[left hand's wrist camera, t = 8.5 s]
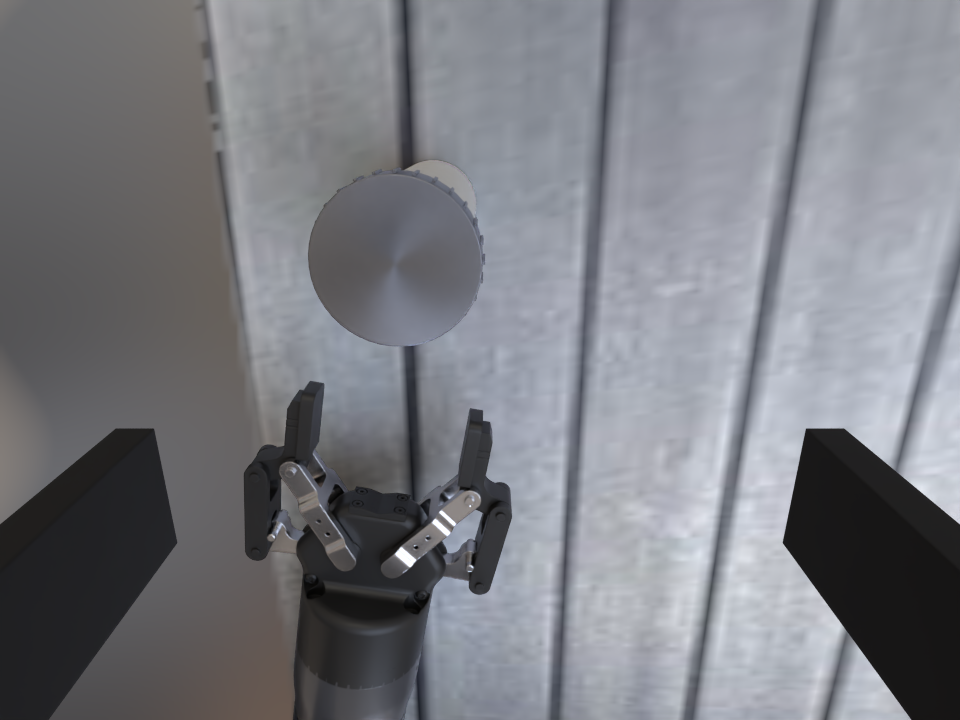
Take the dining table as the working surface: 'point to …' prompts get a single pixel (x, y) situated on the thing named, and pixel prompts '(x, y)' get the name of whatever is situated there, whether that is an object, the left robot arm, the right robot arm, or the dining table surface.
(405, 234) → the lid
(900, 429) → the dining table surface
